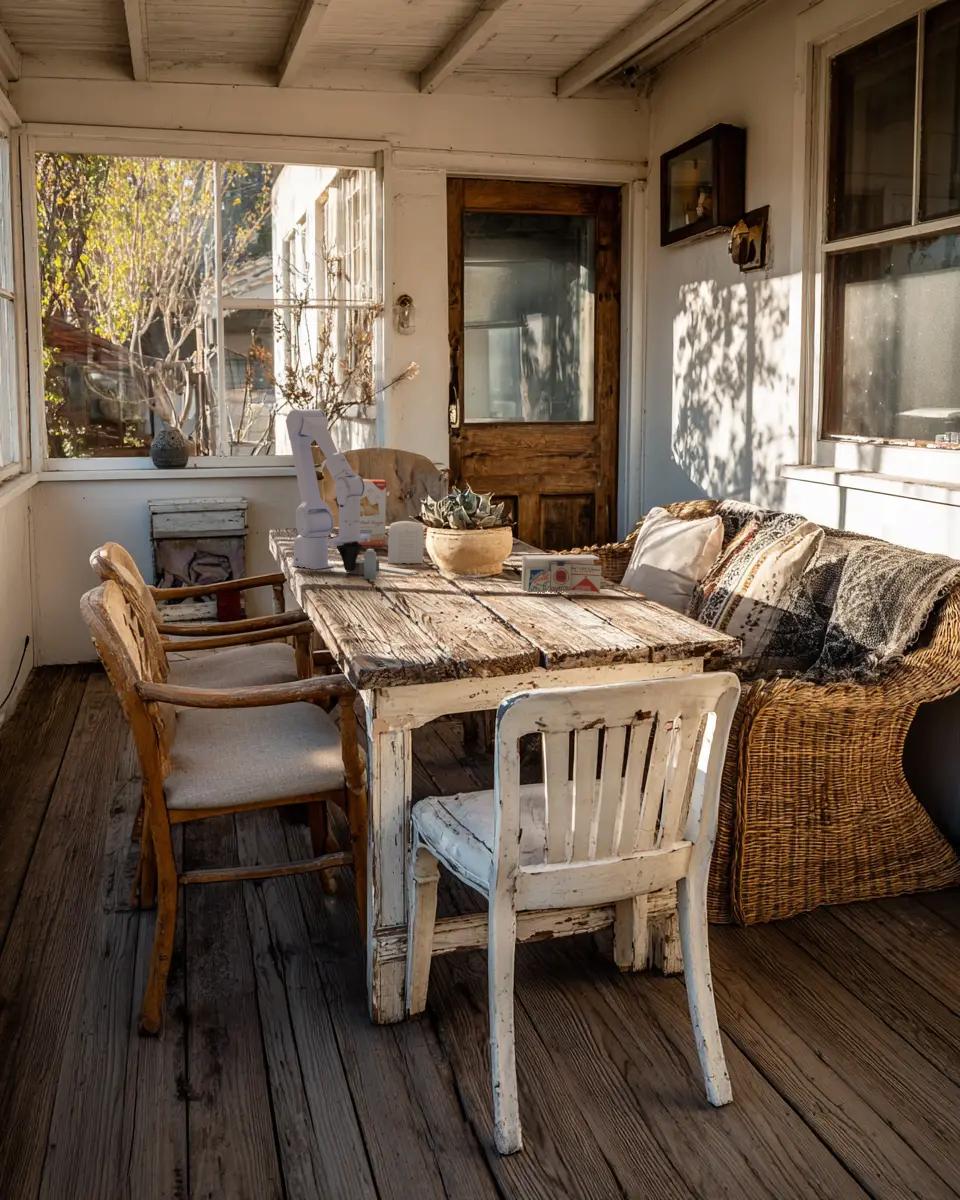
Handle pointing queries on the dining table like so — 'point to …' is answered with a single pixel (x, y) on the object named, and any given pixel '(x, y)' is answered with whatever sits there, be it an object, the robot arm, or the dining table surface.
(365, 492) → the cracker box
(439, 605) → the dining table surface
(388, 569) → the batten
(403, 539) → the light grey rounded block
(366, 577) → the peg
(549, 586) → the cigarette display
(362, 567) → the box
